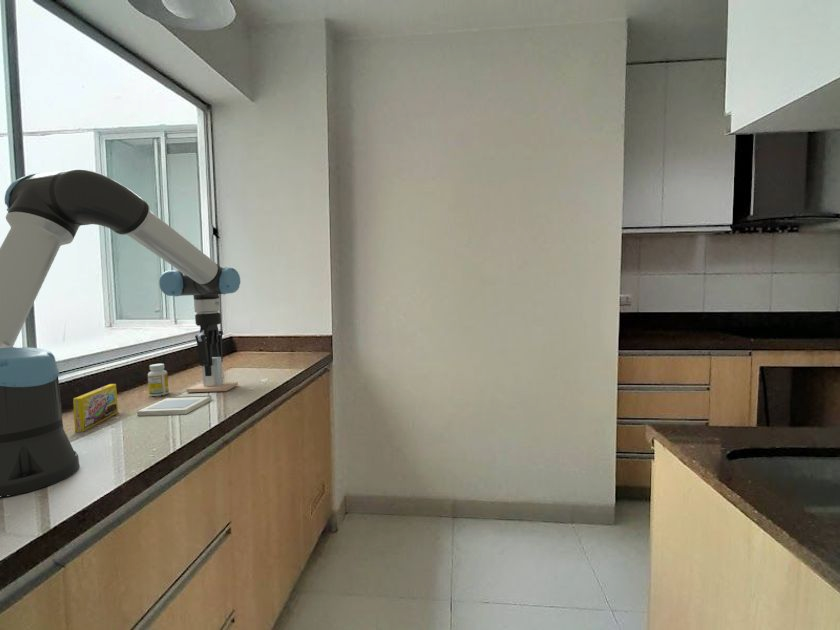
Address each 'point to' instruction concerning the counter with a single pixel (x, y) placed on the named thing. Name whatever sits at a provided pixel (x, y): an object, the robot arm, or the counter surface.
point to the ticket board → (175, 405)
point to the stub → (218, 380)
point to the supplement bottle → (158, 380)
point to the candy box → (95, 407)
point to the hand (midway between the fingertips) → (213, 384)
